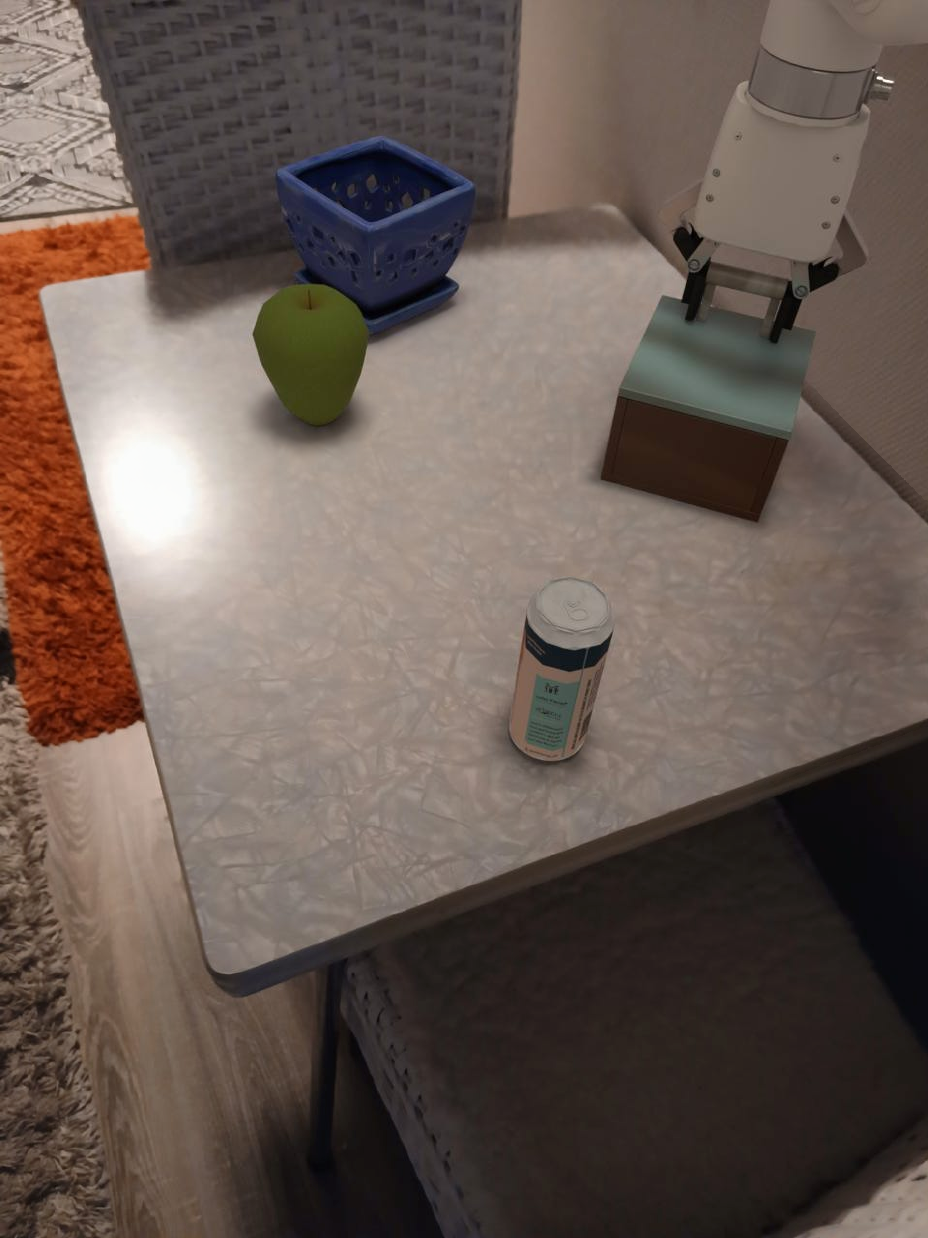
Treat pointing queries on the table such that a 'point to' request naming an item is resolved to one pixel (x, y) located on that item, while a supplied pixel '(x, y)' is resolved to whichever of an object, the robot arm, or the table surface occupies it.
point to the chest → (691, 458)
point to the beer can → (560, 667)
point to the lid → (723, 358)
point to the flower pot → (377, 227)
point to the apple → (312, 349)
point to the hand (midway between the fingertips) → (734, 320)
